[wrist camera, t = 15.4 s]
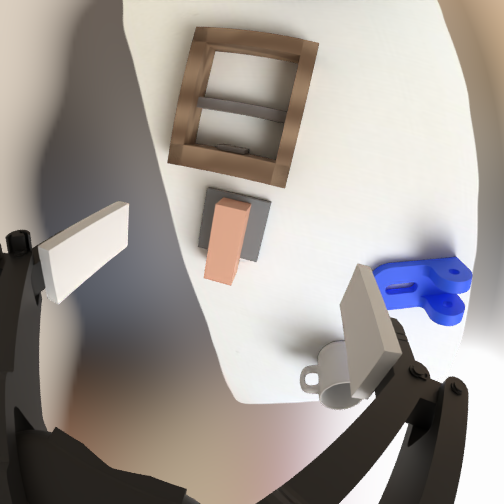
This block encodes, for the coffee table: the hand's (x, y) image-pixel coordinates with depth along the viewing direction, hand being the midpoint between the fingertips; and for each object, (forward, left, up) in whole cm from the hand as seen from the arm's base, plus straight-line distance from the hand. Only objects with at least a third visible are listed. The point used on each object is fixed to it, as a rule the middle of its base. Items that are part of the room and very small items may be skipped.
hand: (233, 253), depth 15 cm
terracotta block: (+11, -5, -28) cm, 31 cm away
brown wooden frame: (-10, -7, -29) cm, 31 cm away
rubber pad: (+9, -5, -29) cm, 31 cm away
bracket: (+11, +28, -30) cm, 42 cm away
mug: (+31, +19, -30) cm, 47 cm away
